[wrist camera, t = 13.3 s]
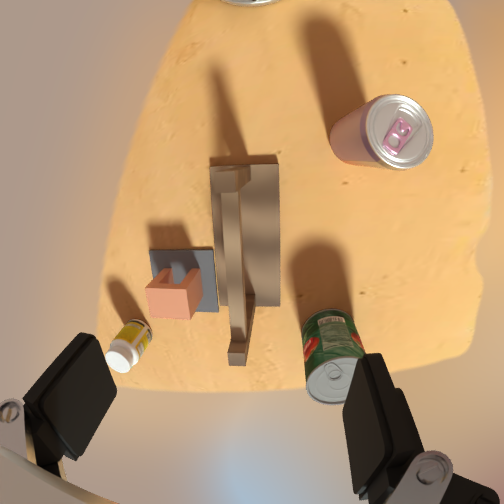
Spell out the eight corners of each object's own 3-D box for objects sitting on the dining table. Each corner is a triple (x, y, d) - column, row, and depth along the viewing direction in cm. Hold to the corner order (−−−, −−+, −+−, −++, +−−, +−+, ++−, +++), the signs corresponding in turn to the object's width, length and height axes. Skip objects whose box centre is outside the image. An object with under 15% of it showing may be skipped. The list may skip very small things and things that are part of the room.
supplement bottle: (121, 325, 43) (97, 355, 35) (138, 313, 42) (113, 343, 34) (141, 347, 44) (119, 378, 36) (158, 336, 43) (138, 369, 35)
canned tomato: (362, 337, 40) (381, 387, 29) (316, 360, 42) (323, 413, 31) (341, 298, 38) (359, 345, 27) (291, 324, 40) (293, 376, 29)
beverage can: (318, 145, 32) (348, 135, 18) (345, 107, 30) (389, 75, 16) (358, 174, 33) (410, 188, 18) (383, 137, 31) (447, 128, 17)
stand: (211, 166, 34) (172, 172, 21) (278, 163, 33) (278, 167, 20) (221, 301, 40) (197, 364, 27) (280, 302, 39) (279, 368, 26)
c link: (163, 268, 38) (144, 287, 32) (200, 268, 38) (186, 289, 32) (168, 294, 40) (150, 317, 34) (203, 295, 39) (190, 320, 33)
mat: (149, 250, 38) (148, 251, 38) (213, 249, 37) (212, 250, 37) (159, 308, 41) (158, 309, 41) (218, 310, 40) (218, 312, 40)
